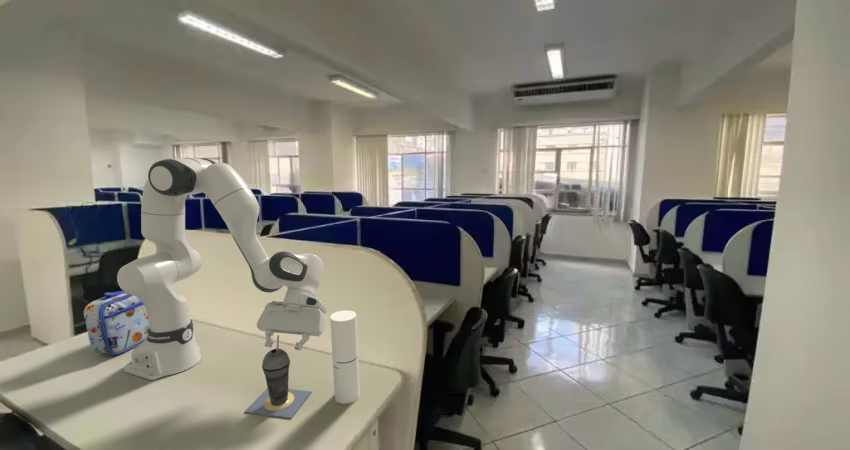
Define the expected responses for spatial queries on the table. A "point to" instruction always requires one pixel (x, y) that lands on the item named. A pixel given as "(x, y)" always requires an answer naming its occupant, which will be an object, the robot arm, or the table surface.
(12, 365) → the table surface
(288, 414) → the card
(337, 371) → the cylindrical container
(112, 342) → the lunch box
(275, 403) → the beverage cup
